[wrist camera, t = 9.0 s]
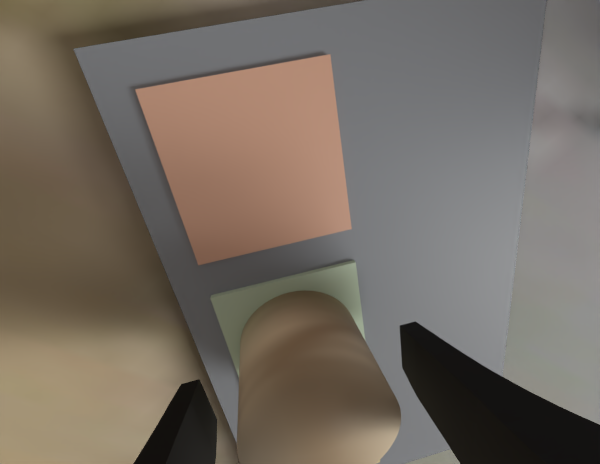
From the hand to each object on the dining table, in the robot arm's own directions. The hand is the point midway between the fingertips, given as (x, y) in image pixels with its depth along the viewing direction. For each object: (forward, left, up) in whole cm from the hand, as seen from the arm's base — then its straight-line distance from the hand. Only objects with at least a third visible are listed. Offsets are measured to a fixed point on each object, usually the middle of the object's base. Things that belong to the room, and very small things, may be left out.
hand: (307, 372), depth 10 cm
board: (-3, 0, -3) cm, 4 cm away
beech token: (0, 0, -2) cm, 2 cm away
